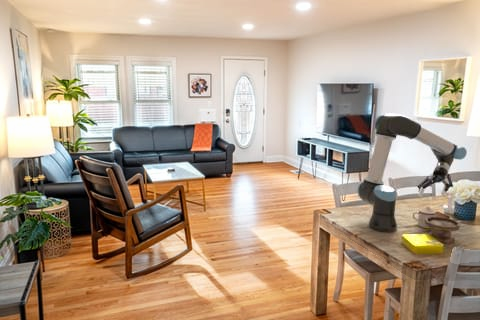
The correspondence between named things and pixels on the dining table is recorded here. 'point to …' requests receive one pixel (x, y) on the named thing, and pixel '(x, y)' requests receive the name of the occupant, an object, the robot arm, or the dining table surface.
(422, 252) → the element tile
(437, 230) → the walnut pedestal
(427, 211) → the teacup with lid
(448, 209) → the figurine
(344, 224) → the dining table surface
